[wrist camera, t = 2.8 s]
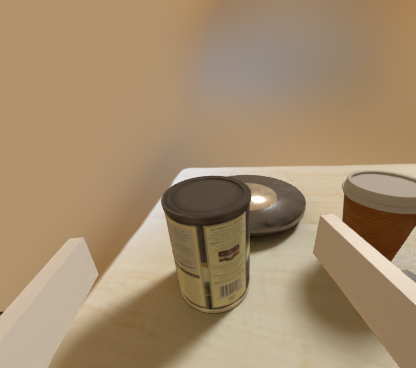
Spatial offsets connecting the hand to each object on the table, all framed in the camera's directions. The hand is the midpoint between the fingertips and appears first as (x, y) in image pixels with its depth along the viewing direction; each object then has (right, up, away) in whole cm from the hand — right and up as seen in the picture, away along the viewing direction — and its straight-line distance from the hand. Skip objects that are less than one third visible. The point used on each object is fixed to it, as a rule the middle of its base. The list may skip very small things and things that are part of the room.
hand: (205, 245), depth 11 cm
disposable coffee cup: (+25, -7, +20) cm, 33 cm away
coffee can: (+1, -10, +17) cm, 20 cm away
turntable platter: (+9, 0, +33) cm, 34 cm away
